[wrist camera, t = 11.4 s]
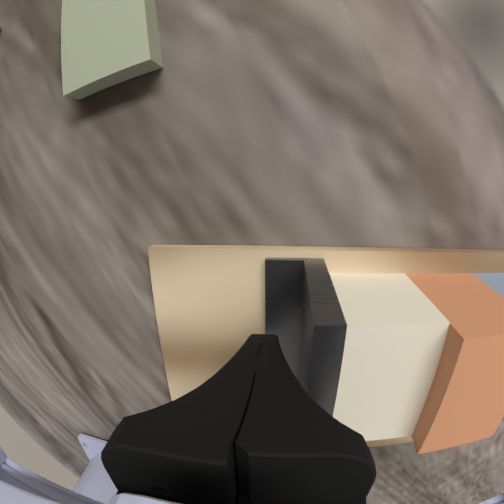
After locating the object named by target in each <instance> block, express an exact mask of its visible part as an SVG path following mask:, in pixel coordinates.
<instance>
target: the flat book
mask: <svg viewBox="0 0 504 504" xmlns="http://www.w3.org/2000/svg"><path fill="white" fill-rule="evenodd" d="M61 65H62V85H63V96H66V97H71V98H75V99H82V98H85V97H87V96H89V95H91V94H94V93H96V92H98V91H101V90H103V89H106V88H108V87H110V86H113V85H116V84H118V83H121V82H123V81H126V80H129V79H131V78H134V77H137V76H140V75H143V74H146V73H148V72H151V71H154V70H158V69H161V68H163V64H162V56H161V49H160V41H159V33H158V24H157V15H156V6H155V0H62V18H61Z"/></svg>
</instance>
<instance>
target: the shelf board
mask: <svg viewBox="0 0 504 504" xmlns="http://www.w3.org/2000/svg"><path fill="white" fill-rule="evenodd" d="M148 255H149V264H150V273H151V281H152V289H153V297H154V304H155V311H156V318H157V324H158V331H159V337H160V343H161V348H162V354H163V360H164V365H165V370H166V375H167V380H168V385H169V390H170V395H171V400H172V401H174V400H176V399H178V398H180V397H181V396H183V395H185V394H187V393H188V392H190V391H192V390H194V389H195V388H197V387H199V386H200V385H201V384H203V383H204V382H206V381H207V380H208V379H209V378H211V377H212V376H213V375H214V374H215V373H217V372H218V371H219V370H220V369H221V368H222V367H223V366H224V365H225V364H226V363H227V362H228V361H229V360H230V359H231V358H232V357H233V356H234V355H235V354H236V352H237V351H238V350H239V349H240V348H241V346H242V345H243V344H244V343H245V341H246V340H247V339H248V337H249V336H250V335H251V334H265V258H324V261H325V263H326V266H327V269H328V272H329V273H336V274H461V273H504V250H483V249H436V248H383V247H320V246H239V245H152V246H151V247H149V248H148ZM408 442H413V439H412V436H406V437H399V438H391V439H382V440H373V441H366V443H367V445H368V447H377V446H386V445H394V444H401V443H408Z"/></svg>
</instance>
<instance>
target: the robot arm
mask: <svg viewBox="0 0 504 504" xmlns="http://www.w3.org/2000/svg"><path fill="white" fill-rule="evenodd" d="M78 440H79V442H80V444H81V445H82V447H83V449H84V451H85V453H86V455H87V456H88V458H89V460H90V463H89V464H88V466H87V468H86V469H85V471H84V473H83V474H82V476H81V477H80V479H79V481H78V482H77V484H76V486H75V487H74V489H73V491H71V490H69V489H66V488H64V487H62V486H60V485H58V484H56V483H53V482H51V481H49V480H47V479H45V478H43V477H41V476H39V475H37V474H35V473H33V472H31V471H30V470H28V469H26V468H24V467H22V466H21V465H19V464H17V463H15V462H14V461H11V460H10V459H8V458H7V457H6V454H5V453H4V451H3V450H2V449H1V447H0V504H366V497H367V495H368V493H369V491H370V489H371V487H372V485H373V483H374V481H375V477H376V467H375V463H374V460H373V457H372V454H371V452H370V450H369V447H368V445H367V443H366V441H365V439H364V437H363V436H362V435H361V434H360V433H358V432H356V431H354V430H353V429H351V428H349V427H347V426H346V425H344V424H342V423H341V422H339V421H338V420H336V419H335V418H334V417H332V416H331V415H330V414H329V413H327V412H326V411H325V410H324V409H323V408H322V407H321V406H320V405H319V404H317V403H316V402H315V401H314V399H313V398H312V397H311V396H310V395H309V394H308V393H307V392H306V390H305V389H304V388H303V387H302V385H301V384H300V383H299V381H298V380H297V378H296V377H295V375H294V374H293V372H292V370H291V369H290V367H289V365H288V363H287V361H286V359H285V357H284V355H283V352H282V350H281V347H280V344H279V337H278V336H277V335H275V334H251V335H250V336H249V337H248V339H247V340H246V341H245V343H244V344H243V345H242V346H241V348H240V349H239V350H238V351H237V352H236V354H235V355H234V356H233V357H232V358H231V359H230V360H229V361H228V362H227V363H226V364H225V365H224V366H223V367H222V368H221V369H220V370H219V371H218V372H217V373H215V374H214V375H213V376H212V377H211V378H209V379H208V380H207V381H206V382H204V383H203V384H201V385H200V386H199V387H197V388H195V389H194V390H192V391H190V392H188V393H187V394H185V395H183V396H181V397H180V398H178V399H176V400H174V401H171V402H169V403H167V404H164V405H162V406H159V407H157V408H154V409H151V410H148V411H145V412H142V413H138V414H135V415H131V416H127V417H124V418H123V419H122V421H121V422H120V423H119V425H118V426H117V427H116V429H115V430H114V432H113V433H112V435H111V437H110V438H109V440H108V441H104V440H101V439H98V438H94V437H91V436H88V435H85V434H79V436H78ZM478 504H504V493H503V494H501V495H498V496H496V497H493V498H491V499H488V500H486V501H483V502H481V503H478Z"/></svg>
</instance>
